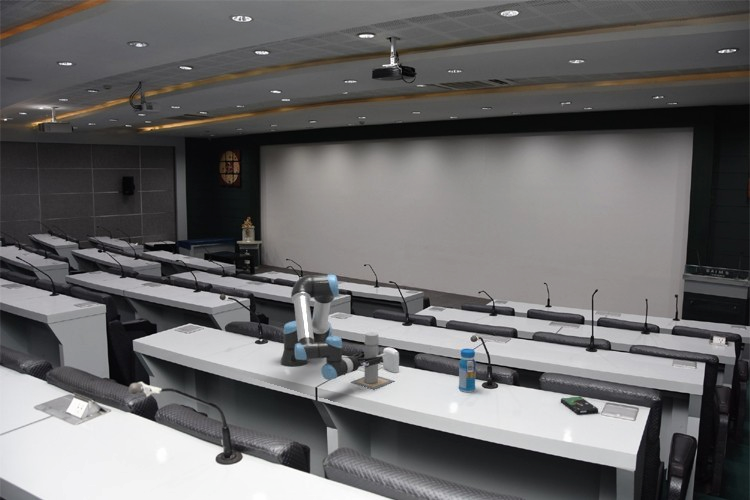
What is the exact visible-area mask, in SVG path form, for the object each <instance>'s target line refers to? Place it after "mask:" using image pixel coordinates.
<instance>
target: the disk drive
mask: <svg viewBox="0 0 750 500" xmlns="http://www.w3.org/2000/svg"><path fill="white" fill-rule="evenodd" d="M560 403H561V404H562V405H563V406H565V407H566V408H567V409H569V410H570V411H571V412H573V413H574V414H575V415H577V416H581V415H592V414H593V415H594V414H595V415H597V414H598V413H599V408H598V407H597V406H595V405H593V404H592V403H590V402H589V401H587V400H586V399H585V398H583V397H582V396H571V397H562V398H561V399H560Z"/></svg>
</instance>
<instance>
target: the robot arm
mask: <svg viewBox="0 0 750 500" xmlns="http://www.w3.org/2000/svg"><path fill="white" fill-rule="evenodd" d="M338 283H339V282H338V277H337V276H336V274H316V275H315V274H313V275H310V274H309V275H304V276H302V277H299V279H297V281H296V282H295V283H294V285H293V287H292V289H291V292H290V293H291V294H290V295H291V296H290V297H291V302H292V303H293V305H294V314H295V315H294V316H295V320H293V321H289V322H286V323H285V324H284V326H283V352H282V355H281V359H280V364H281V365H283V366H287V367H301V366H304V365H307V364H308V363H309V361H308V360H315V359H325V363H324V364H323V365H322V366H321V371H320V372H321V376H322V377H323V378H324V379H325V380H328V381H329V380H333V379H337V378H338V377H342V376H346V375H347V374H350V373H354V372H356V371H358V370H359V368H360V367H364V368H365V367H369V366H372V365H375V364H378V365H379V364H381V361H383V359H385V353H384V354H383V353H381V354H378V356H376V357H373V358H367V359H366V358H365V351H361V352H357V353H355V354H352V355H350V356H347V357H343V344H342V343H343V341H342V337H339V336H338V335H337V336H336V335H333V336H332V333H333V332H332V331H333V328H332V324H331V323H330V321H329V314H330V309H331V303H332V302H333V301H334V300H335V298H337V297H339V294H340V291H339V284H338ZM311 298H312V299H313V300H314V304H313V306H314V307H313V312H312V313H311V306H310V301H311Z"/></svg>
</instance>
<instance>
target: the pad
mask: <svg viewBox="0 0 750 500" xmlns="http://www.w3.org/2000/svg"><path fill="white" fill-rule="evenodd" d="M392 382H393V383H395V380H392V379H389V378H387V377H386V378H385V377H383V376H379V375H378V382H376V383H373V384H370V383H366V382H365V381H364V376H363V377H360V378H358V379H354V380H352V381H350V383H351V384H353V383H354V384H353V385H356V384H357V386H360V385H361V386H360V387H363V386H364V387H363V388H366V387H367V388H366V389H369V388H370V389H369V390H372V389H373V391H375V389H376V390H378V389H381V388H383V387H385V386H387V384H388V385H390V384H392ZM380 387H381V388H380Z"/></svg>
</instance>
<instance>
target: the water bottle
mask: <svg viewBox="0 0 750 500" xmlns="http://www.w3.org/2000/svg"><path fill="white" fill-rule="evenodd" d="M363 343H364V353H365V358H366V359H367V358H373V357H376V356H378V355H379V345H380V344H381V343H380V339H379V333H378V332H372V331H371V332H366V333H365V339H364V342H363ZM363 375H364V376H363V377H364V381H365V382H366V383H370V384H373V383H376V382H378V376H379V364H375V365H372V366H369V367H365V366H364V374H363Z"/></svg>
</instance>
